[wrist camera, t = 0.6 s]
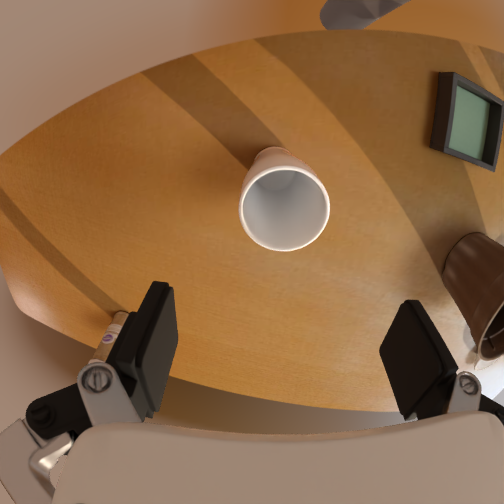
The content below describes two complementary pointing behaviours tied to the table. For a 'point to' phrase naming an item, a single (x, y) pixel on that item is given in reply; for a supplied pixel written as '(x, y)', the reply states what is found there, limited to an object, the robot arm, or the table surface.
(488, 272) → the plant pot
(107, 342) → the sprinkles bottle
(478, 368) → the spoon rest
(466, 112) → the cup holder
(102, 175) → the table surface
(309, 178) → the white tapered cylinder
